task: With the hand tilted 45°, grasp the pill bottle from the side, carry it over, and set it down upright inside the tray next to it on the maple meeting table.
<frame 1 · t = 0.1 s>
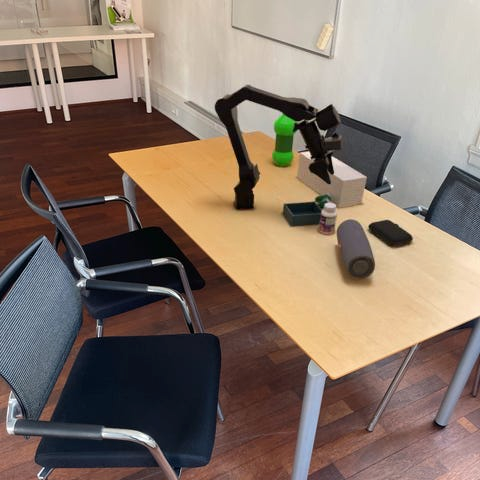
hand: (331, 178, 162), 15 cm above the table, tool tilted 35°, fingers open, 9 cm apart
pill bottle: (326, 231, 164), on the table
bluetooth speaker: (351, 263, 148), on the table
carrying case: (390, 236, 162), on the table
tray: (302, 218, 171), on the table
plastic bottle: (282, 164, 213), on the table
long white box: (327, 190, 192), on the table
gaming controller: (321, 206, 180), on the table
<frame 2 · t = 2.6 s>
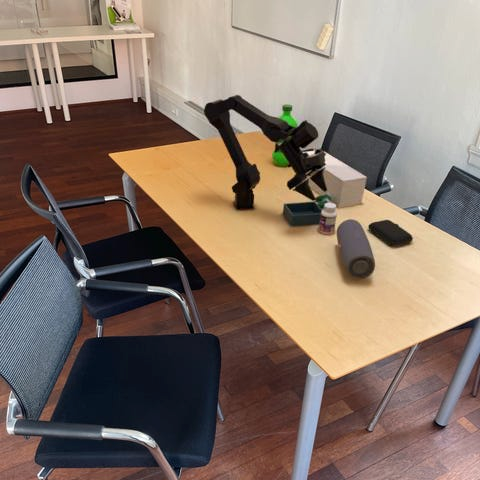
hand: (320, 195, 158), 12 cm above the table, tool tilted 45°, fingers open, 9 cm apart
nothing on the table moved.
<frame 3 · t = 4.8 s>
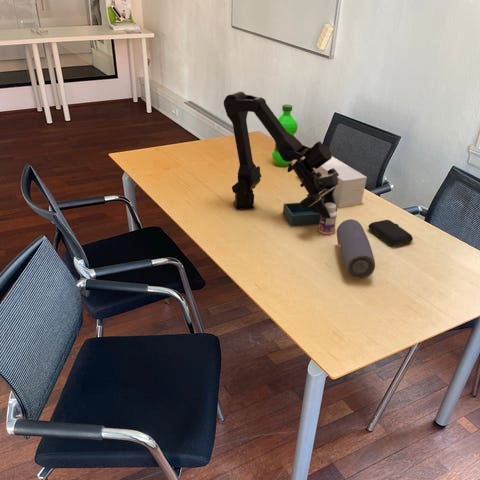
hand: (332, 214, 159), 7 cm above the table, tool tilted 45°, fingers closed on pill bottle, 5 cm apart
pill bottle: (326, 231, 164), on the table, touching gripper
everything else where it was.
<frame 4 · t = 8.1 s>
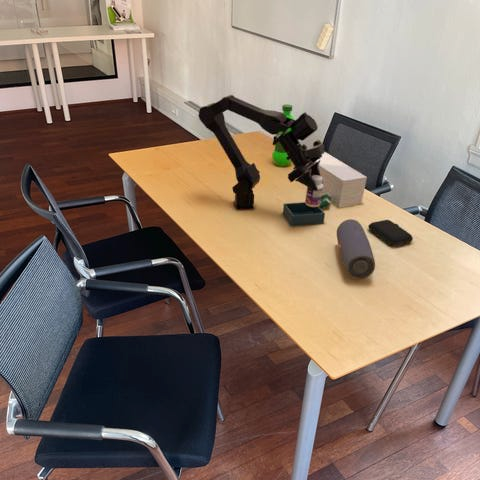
hand: (319, 187, 160), 14 cm above the table, tool tilted 45°, fingers closed on pill bottle, 5 cm apart
pill bottle: (312, 204, 164), point 7 cm above the table, touching gripper
everything else where it was.
when the fingers open (7 cm above the table, at t = 11.3 s): pill bottle stays where it is, resting on tray.
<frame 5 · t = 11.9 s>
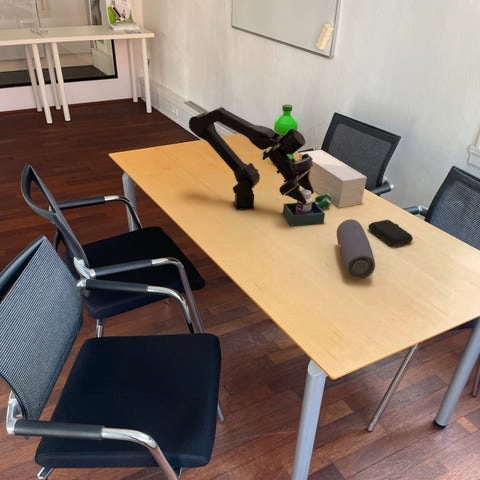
hand: (309, 198, 165), 8 cm above the table, tool tilted 45°, fingers open, 9 cm apart
pill bottle: (302, 217, 170), resting on tray
everything else where it was.
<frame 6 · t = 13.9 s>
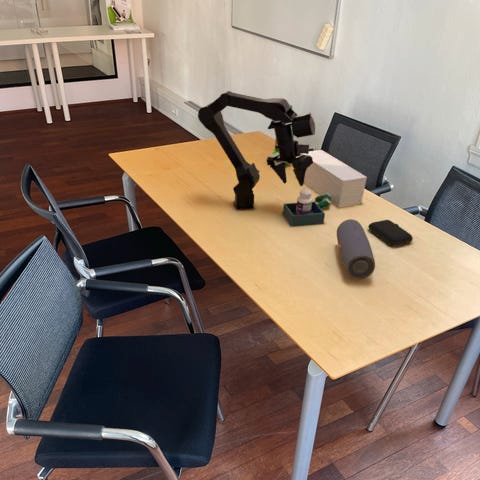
hand: (293, 184, 166), 12 cm above the table, tool tilted 15°, fingers open, 9 cm apart
nothing on the table moved.
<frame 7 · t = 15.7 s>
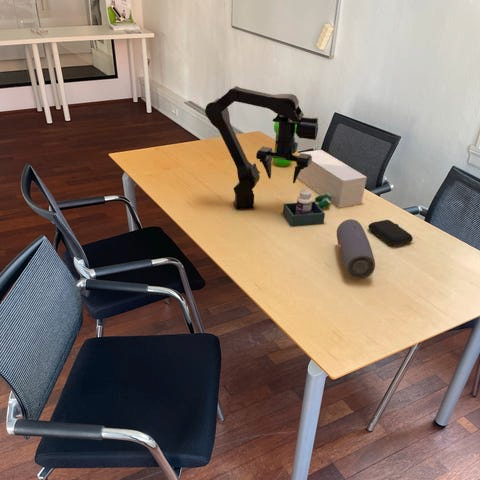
hand: (281, 180, 167), 12 cm above the table, tool pointing down, fingers open, 9 cm apart
nothing on the table moved.
at the end: pill bottle inside the target area in the tray (0.1 cm from its centre), point 0.3 cm above the tray's base; pill bottle tilted 0° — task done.
